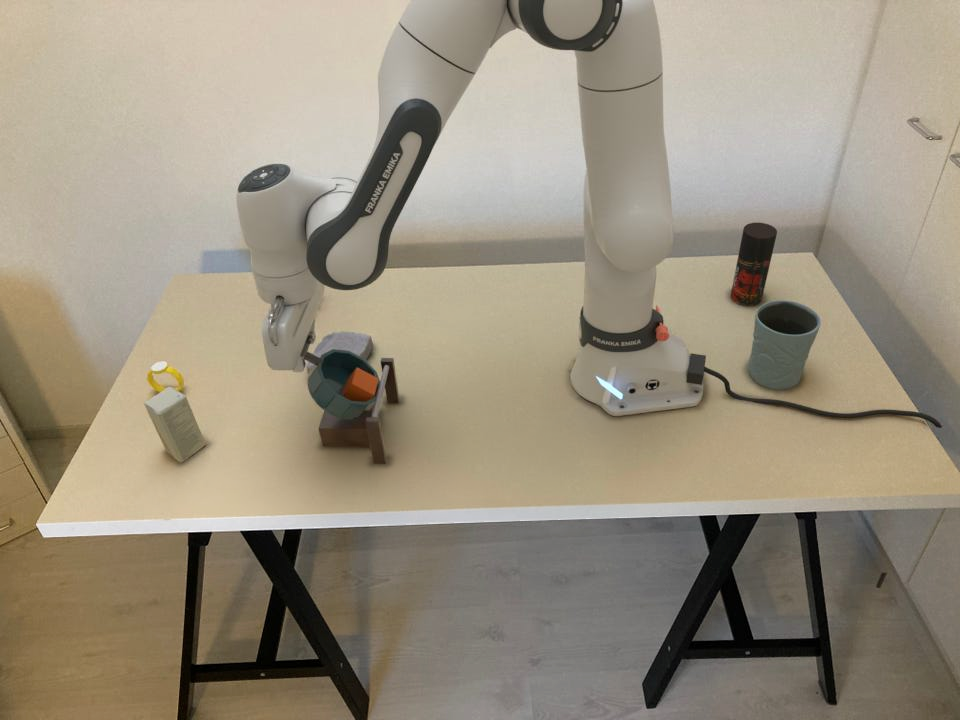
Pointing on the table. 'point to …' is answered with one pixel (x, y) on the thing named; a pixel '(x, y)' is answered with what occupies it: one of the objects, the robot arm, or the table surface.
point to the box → (175, 423)
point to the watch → (161, 368)
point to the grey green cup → (781, 343)
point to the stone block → (344, 345)
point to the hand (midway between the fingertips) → (304, 354)
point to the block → (360, 386)
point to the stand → (361, 423)
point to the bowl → (340, 382)
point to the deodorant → (753, 263)
